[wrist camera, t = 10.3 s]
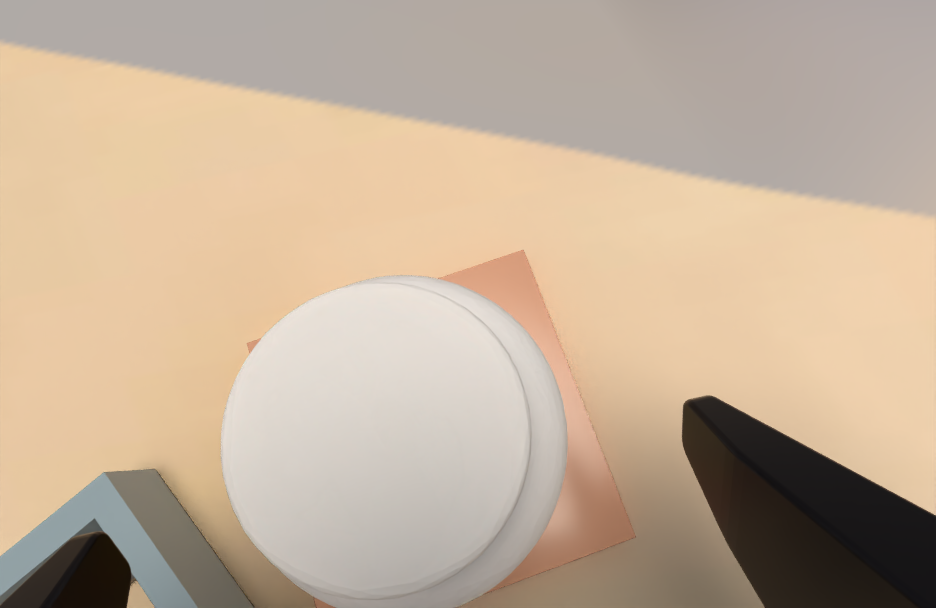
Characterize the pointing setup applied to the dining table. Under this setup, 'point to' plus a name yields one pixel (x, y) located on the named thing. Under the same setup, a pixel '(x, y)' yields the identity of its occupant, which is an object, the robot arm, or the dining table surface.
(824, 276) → the dining table surface
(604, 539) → the tile
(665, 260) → the dining table surface
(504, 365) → the supplement bottle
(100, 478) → the channel
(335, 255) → the dining table surface
